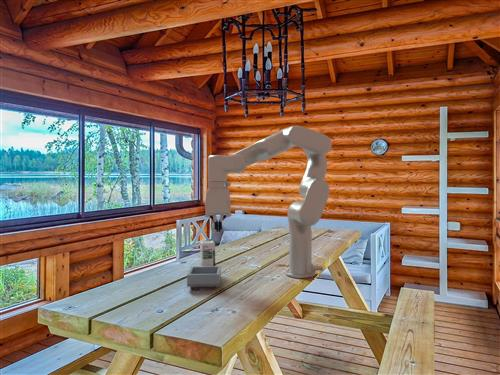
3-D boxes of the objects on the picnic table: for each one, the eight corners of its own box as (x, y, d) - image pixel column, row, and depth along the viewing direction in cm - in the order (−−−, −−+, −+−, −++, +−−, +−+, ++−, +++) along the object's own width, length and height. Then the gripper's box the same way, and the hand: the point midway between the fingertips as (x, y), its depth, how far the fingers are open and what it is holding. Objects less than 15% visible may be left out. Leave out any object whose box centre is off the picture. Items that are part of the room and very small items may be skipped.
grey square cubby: (220, 280, 153) (220, 266, 153) (219, 290, 141) (219, 274, 141) (191, 281, 153) (191, 266, 152) (187, 290, 141) (187, 274, 140)
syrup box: (202, 277, 159) (201, 243, 158) (200, 273, 165) (199, 240, 164) (215, 276, 161) (215, 242, 160) (213, 272, 166) (212, 239, 166)
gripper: (235, 185, 155) (236, 229, 156) (199, 185, 154) (200, 230, 155) (236, 186, 147) (237, 232, 148) (198, 186, 146) (199, 233, 147)
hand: (218, 231), depth 151 cm, fingers closed
